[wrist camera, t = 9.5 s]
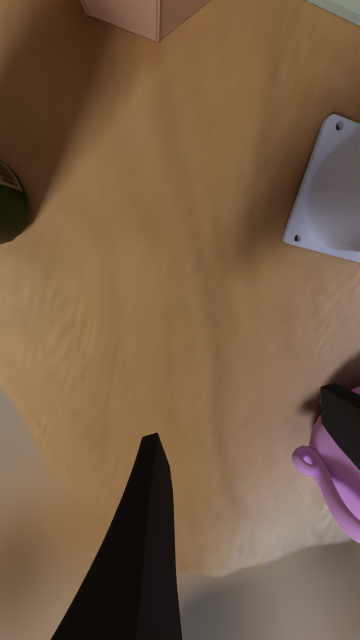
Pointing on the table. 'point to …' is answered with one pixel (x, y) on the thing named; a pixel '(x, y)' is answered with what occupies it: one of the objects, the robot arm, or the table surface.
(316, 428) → the teapot
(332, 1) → the mat
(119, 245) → the table surface
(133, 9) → the bowl
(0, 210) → the beer can
